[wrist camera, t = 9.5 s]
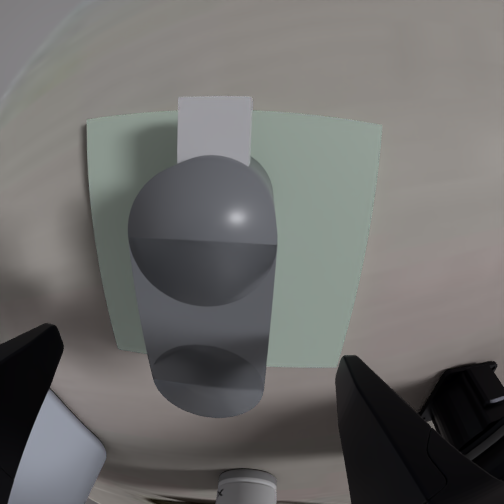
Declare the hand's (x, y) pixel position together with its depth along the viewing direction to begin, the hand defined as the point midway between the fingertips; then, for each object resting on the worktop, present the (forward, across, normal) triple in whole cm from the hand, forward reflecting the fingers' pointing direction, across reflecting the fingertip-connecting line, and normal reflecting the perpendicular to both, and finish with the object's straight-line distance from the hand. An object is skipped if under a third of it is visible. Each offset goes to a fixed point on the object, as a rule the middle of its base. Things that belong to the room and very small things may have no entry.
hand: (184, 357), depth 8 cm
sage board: (+8, 0, 0) cm, 8 cm away
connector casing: (+7, 0, 0) cm, 7 cm away
